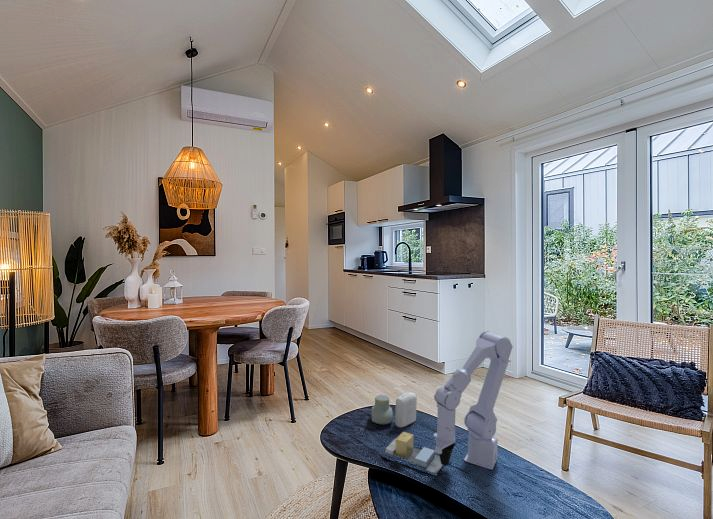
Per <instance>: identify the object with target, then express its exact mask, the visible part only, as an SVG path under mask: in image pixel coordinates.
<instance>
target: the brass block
mask: <svg viewBox="0 0 713 519" xmlns="http://www.w3.org/2000/svg"><path fill="white" fill-rule="evenodd" d="M414 440H415V439H414V434H412V433H410V432H406V431H402V432H401V433H400V434H399V435H398V436H397V437H396V456H399V457H402V458H405V459H407V458H408V457H409V455H410V454H411V453H412V452H413V448H414Z"/></svg>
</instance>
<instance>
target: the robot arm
mask: <svg viewBox="0 0 713 519" xmlns="http://www.w3.org/2000/svg"><path fill="white" fill-rule="evenodd" d="M475 343H476V345H475V348H474V349H473V351H472V352H471V354H470V355H469V357H468V358H467V360H466V362H465V363H464V365H463V366H462V368H457V369H456V370H455V371H454V372H452V375H451V376H450V378H449V379H448V380H447V382H446V383H445V384H444V385H443V386H441V387H439V388H437V389H436V390H435V394H434V395H433V398H434V401H435V402H436V407H437V418H436V420H437V421H436V424H437V425H436V432H434V433H433V436H432V437H433V438H435V443H434V444H435V446H434V450H435V453H436V454H438V456H440V461H441V464H442V465H444V466H446V467H447V466H448V465H449V463H450V460H451V457H452V453H453V450H454V449H455V446H456V444H457V443H456V412H457V411H456V408H458V406H460V404H461V398H462V396H463V392H464V391H465V390H466V389H467V387H468V386H469V385H470V383H471V381H472V377H471V376H472V374H473V373H475V371H476V370H477V369H478V368H479V366H481V365H482V364H483V362H484V361H485V360H486V359H489V360H490V363H489V365H488V369H487V372H486V374H485V378H484V380H483V384H482V388H481V390H480V394H479V397H478V399H477V402H476V404H474V405H471V406H469V410H468V412H467V413H466V414H465V417H464V419H463V422H464V423H463V424H464V425H465V427H467V429H466V430H467V432H468V442H467V444H468V446H467V453H466V455H465V457H464V458H463V459H464V460H463V462H467V463H469V464H473V465H476V466H479V467H482V468H485V469H488V470H493V469H494V467H495V466H496V465H495V464H496V463H497V460H498V447H499V446H498V439H497V438H496V437H494V436H495V434H496V432H497V422H498V418H497V416H496V414H495V412H494V408H495V404H496V402H497V398H498V396H499V392H500V391H501V390H500V389H501V386H502V383H503V380H504V376H505V374H506V371H507V368H508V365H509V360H510V357H511V353H512V350H513V347H514V346H513V344H512V342H511V340H510V338H508V337H506V336H503V335H499V334H495V333H493V332H491V331H488V330H484V331H483V332H481V333H480V335H479V336H478V337H477V339H476V341H475Z"/></svg>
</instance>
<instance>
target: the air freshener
mask: <svg viewBox="0 0 713 519" xmlns="http://www.w3.org/2000/svg"><path fill="white" fill-rule="evenodd" d="M389 397H390V396H387V395H385V394H379V395H377V396H375V397H374V405H373V406H372V407H371V421H372V422H373V423H375V424H377V425H388V424H390V423H392V422H393V419H394V418H393V417H394V415H393V408H392V407H391V406H390V398H389Z"/></svg>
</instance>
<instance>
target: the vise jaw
mask: <svg viewBox="0 0 713 519" xmlns="http://www.w3.org/2000/svg"><path fill="white" fill-rule="evenodd" d="M420 450H421V451H420V452H419V454H418V455H417V456H416V457H415V464H417V465H419V466H422V467H425V468H426V467H427V466H428V464H429V463H430V462H431V460H432V459H433V458H434V456H435V455H436V454H435V449H431V448H428V447H426V446H423V447H422V448H421V449H420Z"/></svg>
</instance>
